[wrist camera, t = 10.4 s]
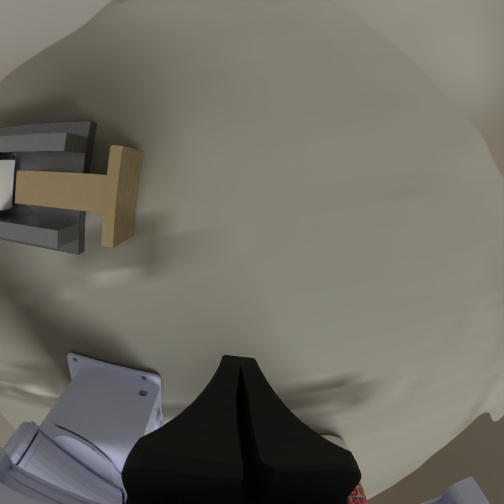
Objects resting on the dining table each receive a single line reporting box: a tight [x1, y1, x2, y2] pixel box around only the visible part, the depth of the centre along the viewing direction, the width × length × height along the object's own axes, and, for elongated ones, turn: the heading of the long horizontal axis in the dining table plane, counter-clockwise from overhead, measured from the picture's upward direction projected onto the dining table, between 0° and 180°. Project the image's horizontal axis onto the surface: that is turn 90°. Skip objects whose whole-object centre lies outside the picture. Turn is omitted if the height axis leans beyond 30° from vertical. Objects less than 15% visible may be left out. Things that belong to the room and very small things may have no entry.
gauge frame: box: [0, 121, 97, 255], centre depth 17 cm, size 12×10×5 cm
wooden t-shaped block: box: [15, 145, 143, 248], centre depth 17 cm, size 10×6×4 cm, turn 81°
